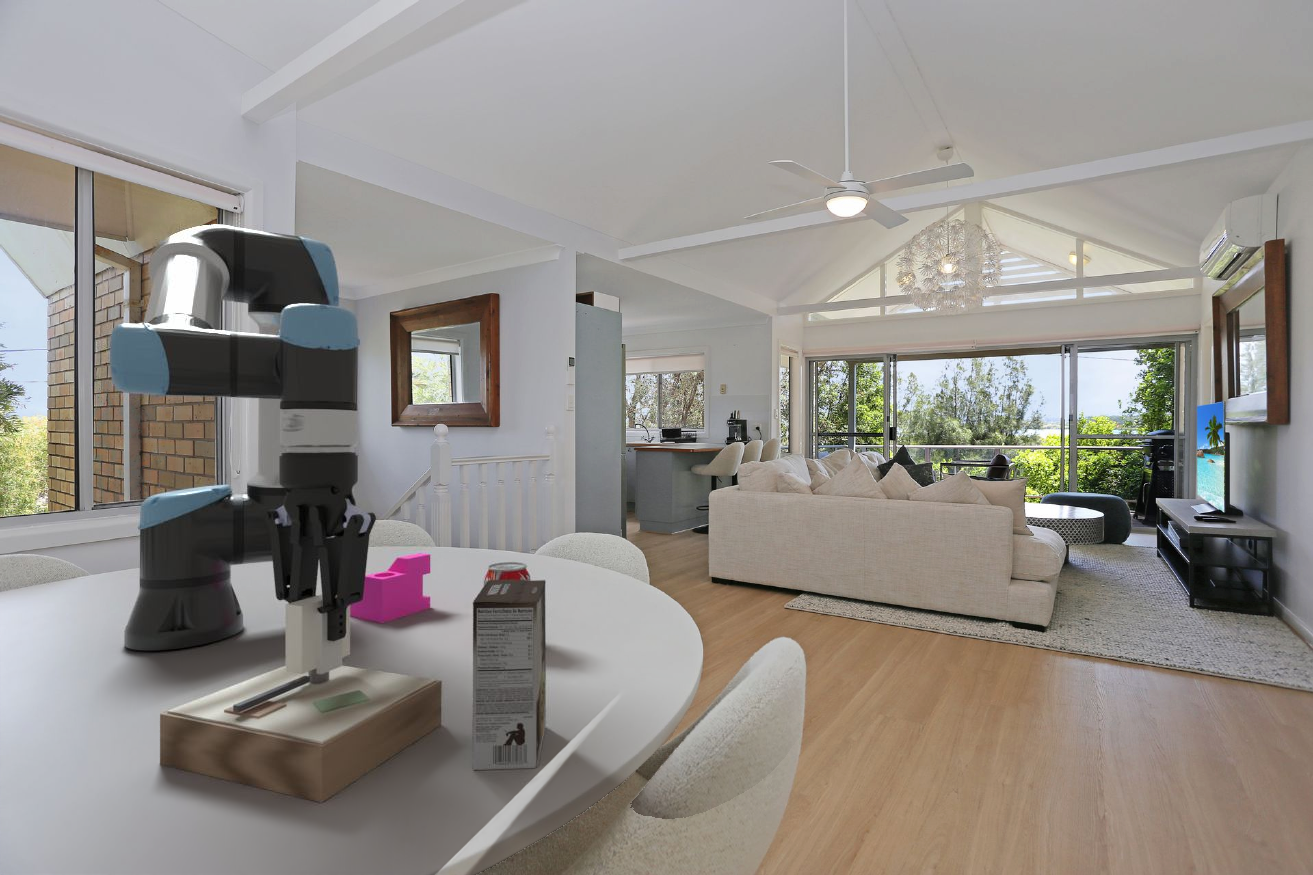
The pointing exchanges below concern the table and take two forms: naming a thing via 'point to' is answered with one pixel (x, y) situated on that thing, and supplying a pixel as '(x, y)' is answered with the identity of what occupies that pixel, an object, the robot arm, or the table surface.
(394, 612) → the bracket
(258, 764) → the switch box
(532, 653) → the coffee box
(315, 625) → the switch lever
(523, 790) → the table surface
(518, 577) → the soda can
